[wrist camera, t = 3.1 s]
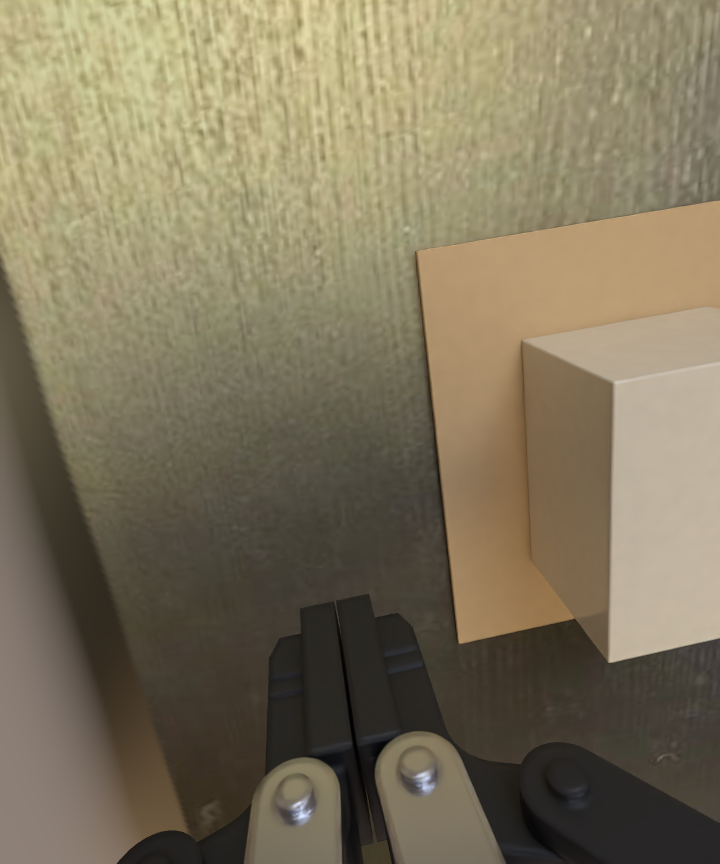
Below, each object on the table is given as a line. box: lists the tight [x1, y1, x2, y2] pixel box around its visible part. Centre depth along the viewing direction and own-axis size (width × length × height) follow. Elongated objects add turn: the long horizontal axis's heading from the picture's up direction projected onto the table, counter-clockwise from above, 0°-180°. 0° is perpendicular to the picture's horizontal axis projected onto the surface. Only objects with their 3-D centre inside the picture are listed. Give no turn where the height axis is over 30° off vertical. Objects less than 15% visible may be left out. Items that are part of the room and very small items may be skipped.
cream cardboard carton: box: [522, 306, 720, 663], centre depth 16 cm, size 6×8×5 cm
